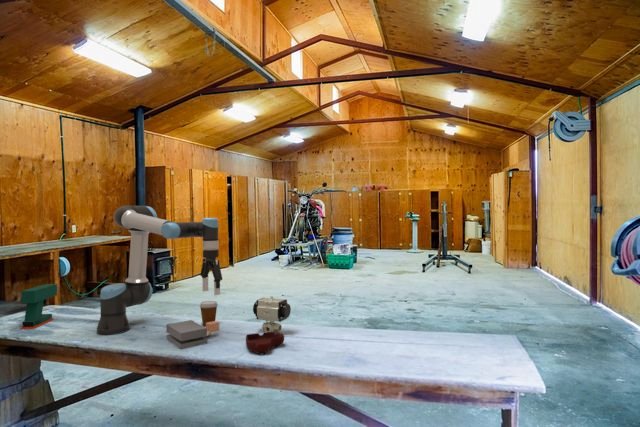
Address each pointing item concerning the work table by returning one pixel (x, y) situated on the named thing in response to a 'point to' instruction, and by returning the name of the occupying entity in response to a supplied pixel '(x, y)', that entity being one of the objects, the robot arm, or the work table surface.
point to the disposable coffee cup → (208, 311)
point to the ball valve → (271, 312)
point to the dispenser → (186, 334)
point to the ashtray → (263, 341)
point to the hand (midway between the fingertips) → (211, 293)
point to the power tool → (37, 305)
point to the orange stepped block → (212, 326)
